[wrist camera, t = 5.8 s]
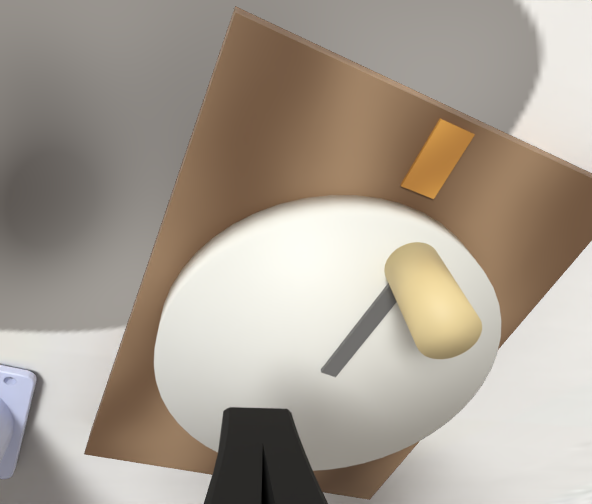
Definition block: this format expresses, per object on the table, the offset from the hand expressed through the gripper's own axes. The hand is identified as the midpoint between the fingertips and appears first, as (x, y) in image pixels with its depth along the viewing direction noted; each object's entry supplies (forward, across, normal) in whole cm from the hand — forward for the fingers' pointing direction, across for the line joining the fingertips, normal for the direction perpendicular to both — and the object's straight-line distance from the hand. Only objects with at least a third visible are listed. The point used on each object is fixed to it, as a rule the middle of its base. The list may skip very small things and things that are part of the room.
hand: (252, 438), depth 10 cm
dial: (+9, -4, +5) cm, 11 cm away
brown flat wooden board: (+10, -4, +5) cm, 12 cm away
